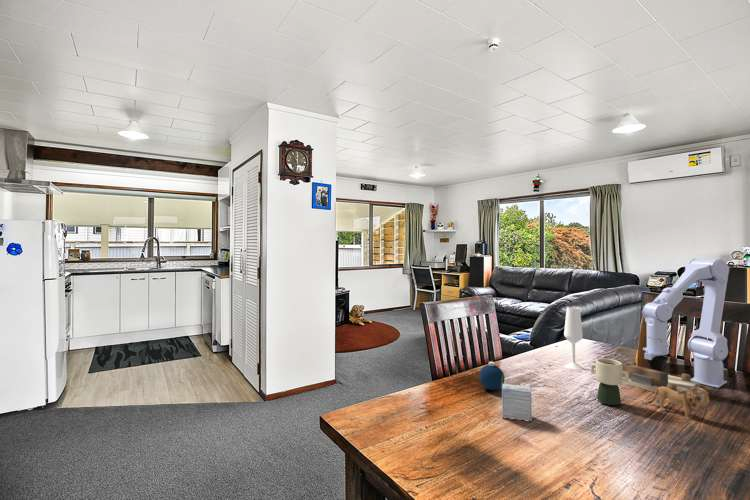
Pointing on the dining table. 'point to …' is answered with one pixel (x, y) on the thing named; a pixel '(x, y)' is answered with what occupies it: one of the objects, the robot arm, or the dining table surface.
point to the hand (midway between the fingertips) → (656, 376)
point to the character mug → (609, 379)
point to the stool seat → (647, 383)
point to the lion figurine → (682, 399)
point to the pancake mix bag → (643, 342)
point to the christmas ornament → (491, 376)
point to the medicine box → (516, 402)
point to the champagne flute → (573, 332)
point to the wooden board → (647, 373)
